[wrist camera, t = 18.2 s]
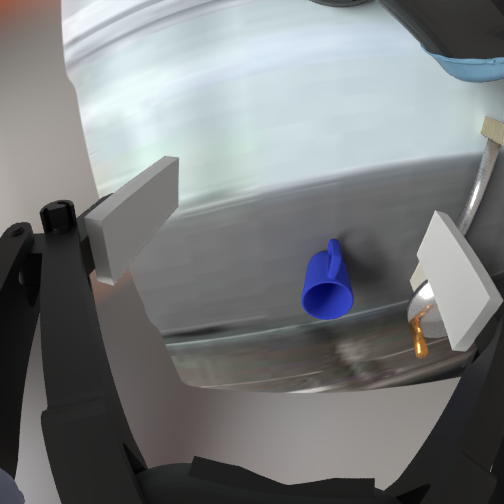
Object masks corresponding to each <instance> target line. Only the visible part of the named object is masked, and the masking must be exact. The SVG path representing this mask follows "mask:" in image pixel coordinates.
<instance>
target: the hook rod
mask: <svg viewBox="0 0 504 504" xmlns="http://www.w3.org/2000/svg"><path fill="white" fill-rule="evenodd" d="M481 134H482V135H484V136H486V137H488V142H487V145H486V148H485V151H484V154H483V157H482V160H481V163H480V166H479V169H478V172H477V175H476V177H475V180H474V183H473V186H472V188H471V191H470V193H469V196H468V198H467V201H466V203H465V206H464V208H463V210H462V213H461V215H460V217H459V220H458V222H457V224H456V227H457V228H458V229H459V231H460V232H461V234H462V235H463V236H464V238H465V236H466V234H467V231H468V229H469V227H470V225H471V223H472V221H473V218H474V216H475V214H476V212H477V209H478V207H479V205H480V202H481V200H482V197H483V195H484V192H485V190H486V187H487V185H488V182H489V179H490V176H491V174H492V171H493V168H494V165H495V162H496V159H497V156H498V153H499V150H500V147H501V145H503V146H504V124H503V123H501V122H499V121H496V120H494V119H491V118H489V117H486V116H485V120H484V123H483V127H482V131H481Z"/></svg>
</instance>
